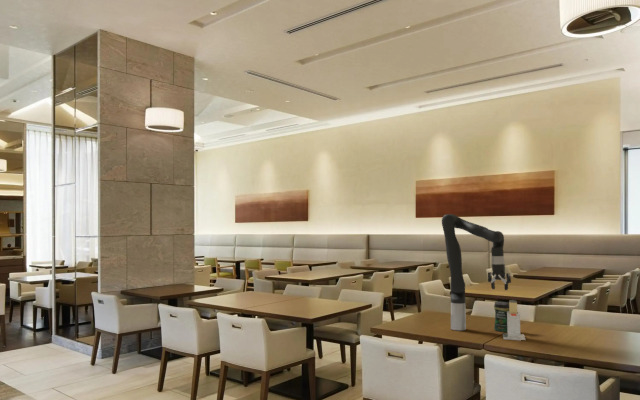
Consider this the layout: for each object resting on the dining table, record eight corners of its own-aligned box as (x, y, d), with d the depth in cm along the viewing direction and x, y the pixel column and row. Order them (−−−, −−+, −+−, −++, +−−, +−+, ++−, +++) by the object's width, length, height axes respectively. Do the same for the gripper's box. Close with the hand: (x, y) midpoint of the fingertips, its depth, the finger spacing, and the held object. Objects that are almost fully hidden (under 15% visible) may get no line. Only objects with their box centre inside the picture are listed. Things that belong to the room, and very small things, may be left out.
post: (510, 336, 286) (509, 301, 287) (509, 334, 290) (509, 300, 291) (517, 336, 284) (517, 301, 286) (517, 335, 288) (516, 300, 290)
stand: (503, 339, 283) (502, 313, 284) (503, 335, 295) (502, 310, 296) (525, 340, 279) (524, 314, 280) (524, 336, 291) (523, 311, 292)
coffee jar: (492, 330, 307) (492, 301, 308) (497, 329, 313) (496, 300, 314) (508, 333, 301) (507, 303, 302) (512, 331, 307) (511, 301, 308)
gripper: (484, 263, 300) (486, 289, 299) (505, 264, 289) (507, 291, 288) (491, 262, 305) (492, 288, 304) (512, 263, 294) (513, 289, 293)
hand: (499, 289), depth 296 cm, fingers open, 8 cm apart
